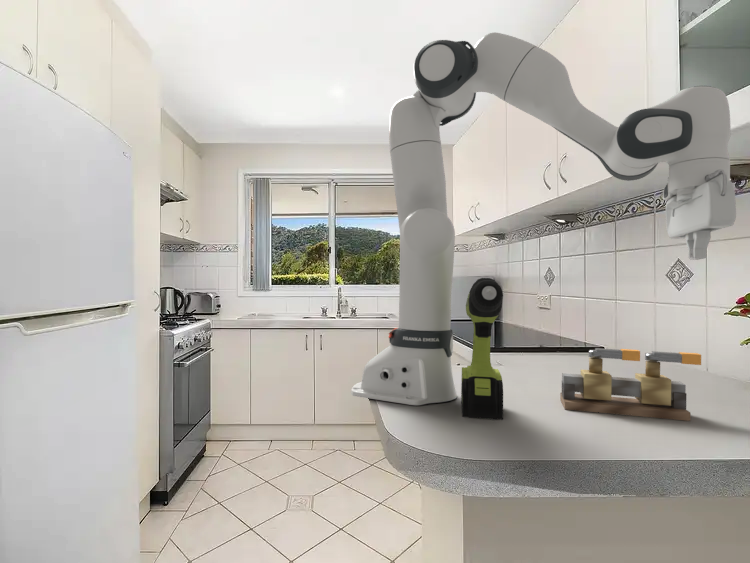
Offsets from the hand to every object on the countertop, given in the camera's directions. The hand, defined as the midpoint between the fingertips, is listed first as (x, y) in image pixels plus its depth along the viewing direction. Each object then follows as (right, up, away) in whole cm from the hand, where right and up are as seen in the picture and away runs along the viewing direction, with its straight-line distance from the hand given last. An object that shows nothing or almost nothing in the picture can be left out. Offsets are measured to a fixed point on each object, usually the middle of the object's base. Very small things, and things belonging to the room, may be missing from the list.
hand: (697, 259), depth 79 cm
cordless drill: (-38, -29, +1) cm, 47 cm away
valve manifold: (-9, -29, +8) cm, 32 cm away
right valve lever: (-1, -19, +6) cm, 20 cm away
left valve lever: (-10, -19, +9) cm, 23 cm away
